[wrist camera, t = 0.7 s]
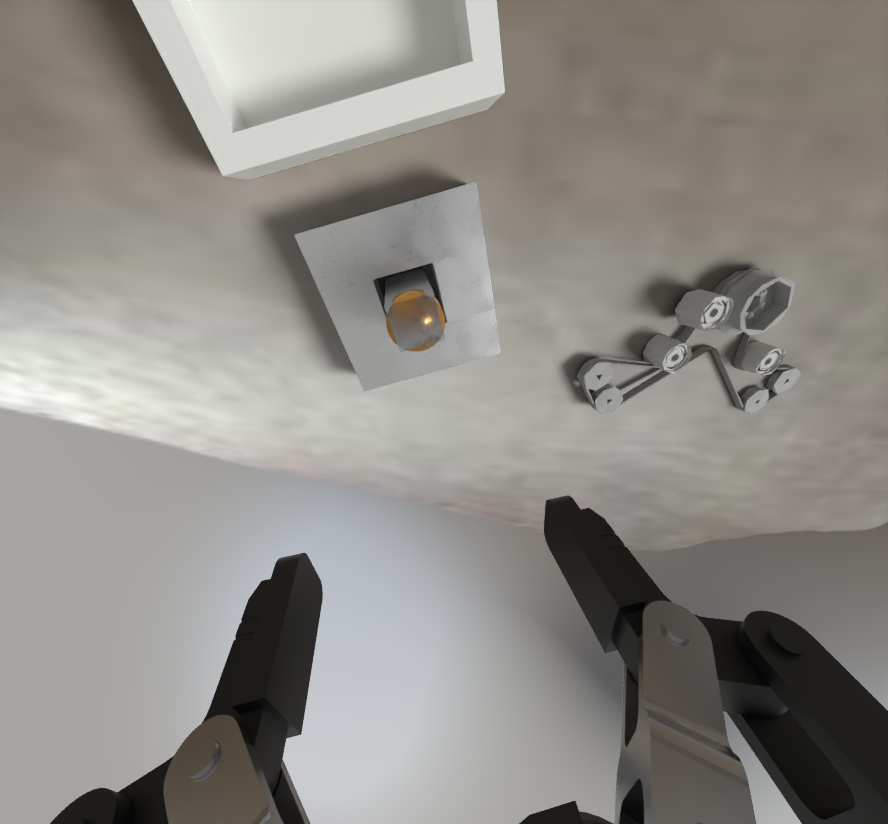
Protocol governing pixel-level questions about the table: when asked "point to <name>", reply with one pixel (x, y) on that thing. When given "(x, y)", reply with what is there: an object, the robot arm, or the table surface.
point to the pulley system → (732, 312)
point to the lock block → (398, 249)
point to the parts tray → (323, 72)
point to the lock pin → (413, 312)
